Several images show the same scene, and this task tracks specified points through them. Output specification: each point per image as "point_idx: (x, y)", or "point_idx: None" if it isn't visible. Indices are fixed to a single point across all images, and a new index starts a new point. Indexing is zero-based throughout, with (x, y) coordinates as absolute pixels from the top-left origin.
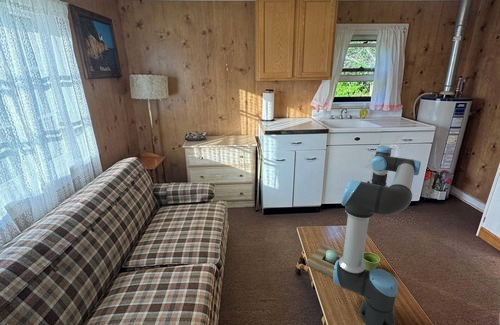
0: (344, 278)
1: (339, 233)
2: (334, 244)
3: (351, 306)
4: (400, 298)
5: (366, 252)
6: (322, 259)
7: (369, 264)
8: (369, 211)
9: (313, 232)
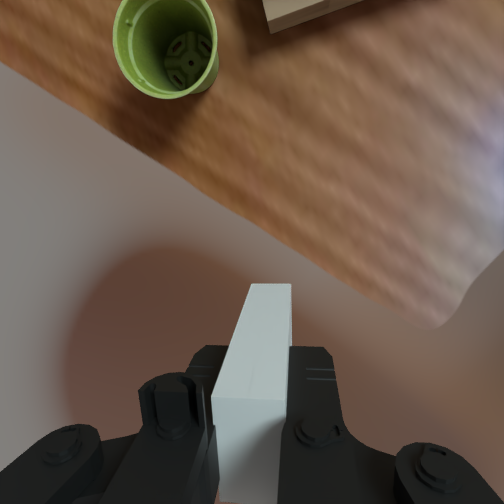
0: None
1: (489, 207)
2: (446, 81)
3: None
4: (7, 17)
5: (209, 61)
6: None
7: (151, 5)
8: None
9: None
